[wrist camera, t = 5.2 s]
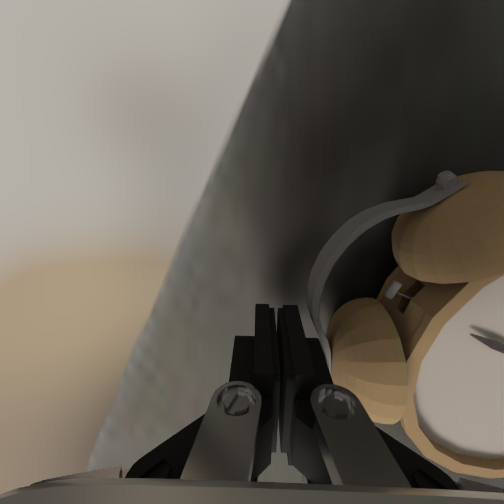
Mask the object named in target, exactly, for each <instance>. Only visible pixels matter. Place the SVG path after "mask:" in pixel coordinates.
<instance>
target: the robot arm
mask: <svg viewBox="0 0 504 504" xmlns="http://www.w3.org/2000/svg"><path fill="white" fill-rule="evenodd" d="M278 419H279V433H280V446H281V453H287V456H288V465H293V466H294V467H295V468H297V469H298V470H299V471H300V472H301V473H302V481H303V483H278V482H258V481H259V475H260V474H261V473H262V472H263V471H264V470H265V469H266V468H267V467H268V466H269V465H270V464H271V452H276V444H277V428H278ZM0 504H504V489H502V488H498V487H494V486H490V485H486V484H482V483H478V482H474V481H470V480H466V479H463V478H459V481H458V482H454V481H453V480H452V479H451V478H450V477H449V476H448V475H447V474H446V473H444V472H443V471H442V470H441V469H439V468H438V467H436V466H435V465H433V464H432V463H430V462H429V461H427V460H426V459H424V458H423V457H421V456H420V455H418V454H417V453H415V452H414V451H412V450H411V449H409V448H408V447H406V446H405V445H403V444H401V443H400V442H398V441H397V440H395V439H394V438H392V437H391V436H389V435H388V434H386V433H385V432H383V431H382V430H380V429H379V428H377V427H376V426H375V425H374V423H373V422H372V420H371V418H370V417H369V415H368V413H367V412H366V410H365V408H364V407H363V405H362V403H361V402H360V400H359V399H358V398H357V396H356V395H355V394H354V393H352V392H351V391H350V390H348V389H346V388H344V387H342V386H339V385H335V384H334V383H333V380H332V377H331V374H330V371H329V368H328V365H327V362H326V359H325V356H324V353H323V350H322V347H321V344H320V341H319V339H318V338H306V337H305V334H304V330H303V326H302V322H301V318H300V314H299V310H298V306H297V305H283V308H278V316H277V332H276V322H275V312H274V308H269V304H256V308H255V336H235V341H234V348H233V355H232V363H231V370H230V378H229V382H227V383H225V384H223V385H221V386H220V387H219V388H217V389H216V390H215V392H214V394H213V395H212V398H211V400H210V403H209V405H208V408H207V411H206V413H205V414H204V415H203V416H201V417H200V418H198V419H197V420H195V421H194V422H192V423H191V424H189V425H188V426H187V427H185V428H184V429H182V430H181V431H179V432H178V433H176V434H175V435H173V436H172V437H171V438H169V439H168V440H166V441H165V442H163V443H162V444H160V445H159V446H157V447H156V448H155V449H153V450H152V451H150V452H149V453H147V454H146V455H144V456H143V457H141V458H140V459H139V460H138V461H137V462H136V463H135V464H133V466H132V467H131V468H128V469H123V470H122V467H121V465H118V466H113V467H108V468H103V469H98V470H92V471H87V472H82V473H77V474H72V475H66V476H61V477H56V478H51V479H46V480H42V481H39V482H36V483H33V484H31V485H30V486H25V487H20V488H17V489H14V490H11V491H8V492H5V493H2V494H0Z"/></svg>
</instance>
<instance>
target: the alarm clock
mask: <svg viewBox="0 0 504 504" xmlns="http://www.w3.org/2000/svg"><path fill="white" fill-rule="evenodd" d="M398 214H400V215H399V216H398V218H397V221H396V223H395V225H394V228H393V230H392V250H393V254H394V258H395V260H396V262H397V264H398V265H399V266H398V267H397V268H396V269H395V270H394V271H393V272H392V273H391V274H390V275H389V276H388V278H387V279H386V281H385V283H384V285H383V287H382V289H381V291H380V293H379V295H378V297H377V299H376V300H375V299H374V298H367V297H365V298H358V299H354V300H351V301H349V302H347V303H345V304H344V305H343V306H341V307H340V308H339V309H338V310H337V311H336V312H335V313H334V315H333V316H332V318H331V320H330V322H329V325H328V328H327V333H326V336H325V333H324V331H323V329H322V326H321V322H320V307H319V303H320V299H321V295H322V292H323V288H324V284H325V282H326V280H327V278H328V275H329V273H330V271H331V269H332V267H333V265H334V264H335V262H336V261H337V260H338V259H339V257H340V256H341V255H342V253H343V252H344V251H345V250H346V248H347V247H348V246H349V245H350V244H351V243H352V242H354V241H355V240H356V239H357V238H358V237H359V236H360V235H361V234H362V233H363V232H364V231H366V230H367V229H369V228H371V227H372V226H374V225H376V224H377V223H379V222H381V221H382V220H385V219H387V218H390V217H393V216H396V215H398ZM307 305H308V309H309V313H310V316H311V319H312V321H313V324H314V326H315V328H316V331H317V333H318V335H319V338H320V342H321V345H322V350H323V353H324V356H325V359H326V362H327V365H328V368H329V371H330V374H331V377H332V380H333V383H334V384H335V385H339V386H342V387H344V388H346V389H348V390H350V391H351V392H352V393H354V394H355V395H356V396H357V398H358V399H359V400H360V402H361V403H362V405H363V407H364V408H365V410H366V412H367V413H368V415H369V417H370V418H371V420H372V421H373V422H377V423H382V424H395V423H396V422H398V421H399V420H400V421H401V425H402V427H403V429H404V430H405V432H406V433H407V435H408V436H409V437H410V438H411V440H412V441H413V442H414V443H415V445H416V446H417V447H418V448H419V450H420V451H421V452H422V453H423V455H424V456H425V457H427V458H429V459H430V460H432V461H434V462H436V463H438V464H440V465H442V466H444V467H445V468H447V469H449V470H451V471H453V472H457V473H463V474H468V475H474V476H479V477H485V478H502V477H504V171H480V172H475V173H469V174H464V175H460V176H456V175H455V174H454V173H452V172H451V171H444V172H441V173H439V174H438V176H437V179H436V185H434V186H432V187H431V188H429V189H427V190H426V191H424V192H422V193H421V194H419V195H417V196H415V197H411V198H405V199H400V200H394V201H389V202H384V203H381V204H378V205H375V206H373V207H370V208H367V209H365V210H364V211H362V212H360V213H359V214H357V215H355V216H354V217H352V218H350V219H349V220H348V221H347V222H345V223H344V224H343V225H342V226H341V227H340V228H339V229H338V230H337V231H336V232H335V233H334V234H333V235H332V236H331V238H330V239H329V240H328V242H327V243H326V244H325V246H324V247H323V248H322V250H321V251H320V252H319V254H318V257H317V259H316V261H315V263H314V265H313V268H312V270H311V273H310V277H309V281H308V285H307Z"/></svg>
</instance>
